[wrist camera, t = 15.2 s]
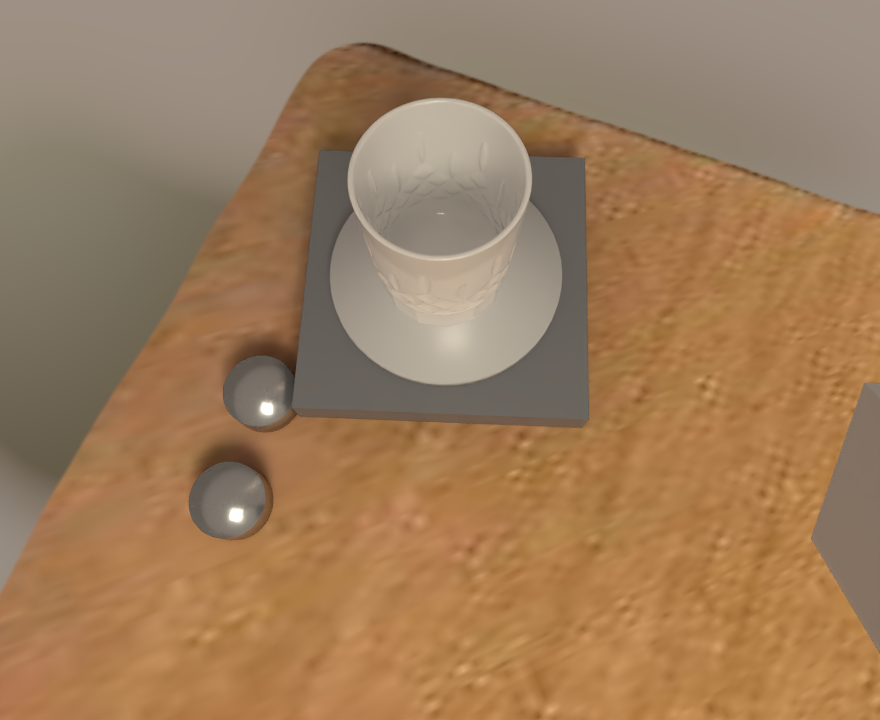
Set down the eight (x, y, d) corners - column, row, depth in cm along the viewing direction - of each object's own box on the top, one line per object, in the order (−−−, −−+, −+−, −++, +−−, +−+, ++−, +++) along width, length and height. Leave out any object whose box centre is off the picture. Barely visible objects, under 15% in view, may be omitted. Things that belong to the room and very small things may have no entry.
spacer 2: (278, 470, 40) (269, 464, 38) (267, 543, 39) (258, 541, 37) (208, 464, 40) (196, 458, 39) (195, 537, 39) (182, 534, 37)
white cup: (489, 193, 42) (500, 78, 32) (531, 316, 39) (557, 232, 30) (357, 228, 41) (328, 121, 31) (392, 354, 39) (372, 281, 29)
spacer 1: (305, 366, 42) (298, 356, 40) (299, 434, 41) (291, 427, 39) (238, 364, 42) (227, 354, 40) (229, 431, 41) (218, 424, 39)
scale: (578, 168, 45) (587, 140, 42) (581, 427, 40) (591, 416, 38) (326, 161, 46) (318, 132, 43) (300, 416, 41) (288, 403, 38)
